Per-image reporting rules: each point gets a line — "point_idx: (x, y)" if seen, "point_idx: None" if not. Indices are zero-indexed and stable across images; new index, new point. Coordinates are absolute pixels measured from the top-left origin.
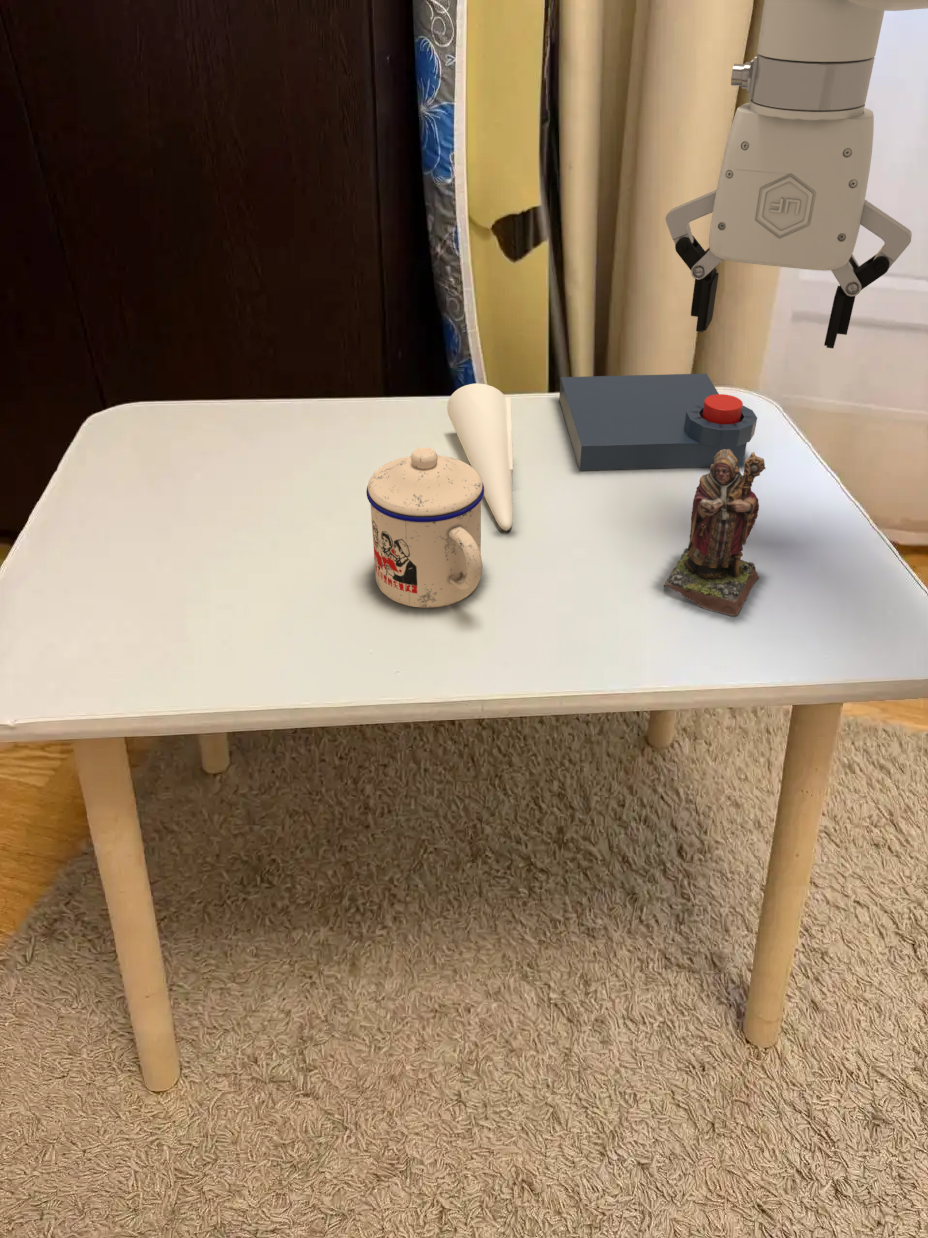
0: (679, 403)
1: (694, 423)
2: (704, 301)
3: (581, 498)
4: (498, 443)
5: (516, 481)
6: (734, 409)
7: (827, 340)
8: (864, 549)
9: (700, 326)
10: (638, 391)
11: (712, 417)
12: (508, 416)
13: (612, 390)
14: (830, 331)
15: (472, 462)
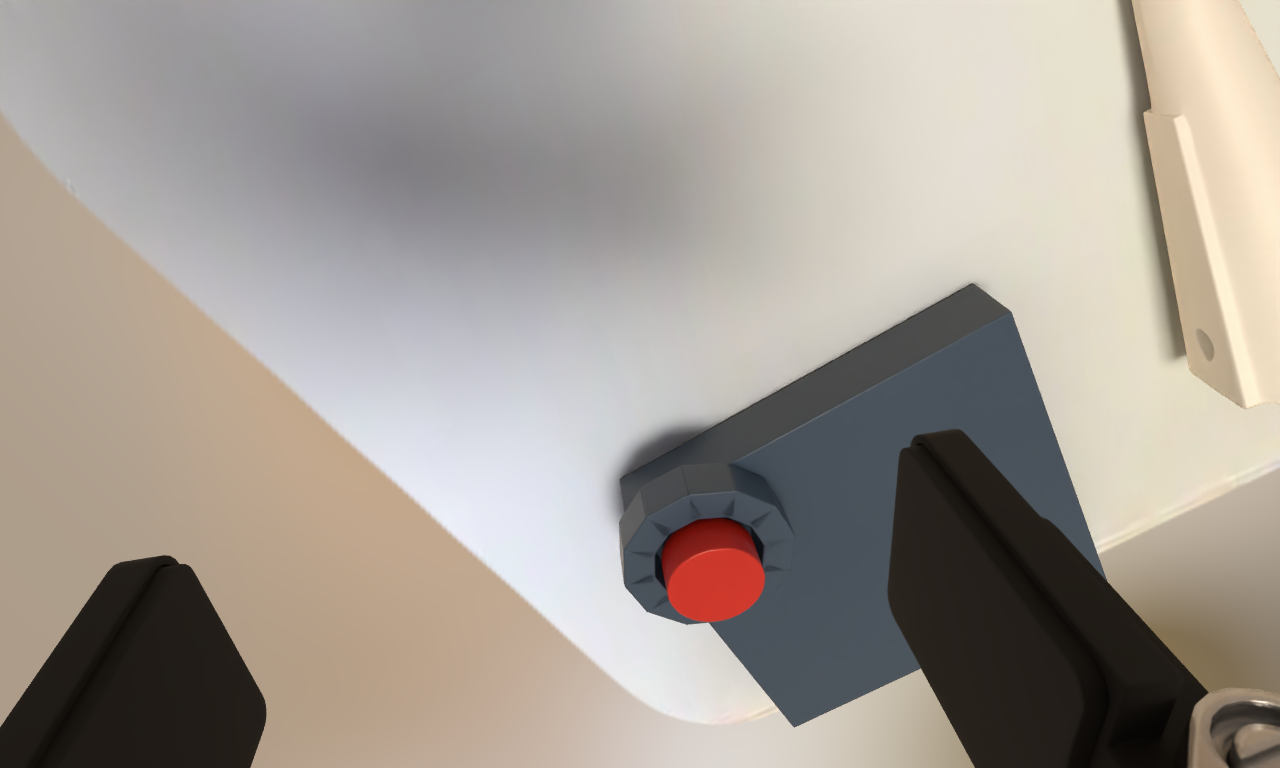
0: (819, 598)
1: (761, 497)
2: (1037, 553)
3: (943, 158)
4: (1252, 181)
5: (1121, 156)
6: (679, 565)
7: (151, 585)
8: (226, 273)
9: (947, 441)
10: None
11: (725, 531)
12: (1236, 328)
13: None
14: (105, 628)
15: None
